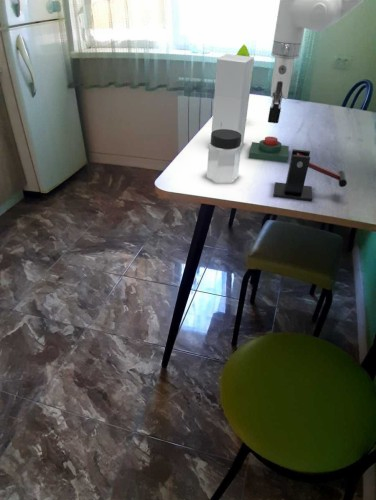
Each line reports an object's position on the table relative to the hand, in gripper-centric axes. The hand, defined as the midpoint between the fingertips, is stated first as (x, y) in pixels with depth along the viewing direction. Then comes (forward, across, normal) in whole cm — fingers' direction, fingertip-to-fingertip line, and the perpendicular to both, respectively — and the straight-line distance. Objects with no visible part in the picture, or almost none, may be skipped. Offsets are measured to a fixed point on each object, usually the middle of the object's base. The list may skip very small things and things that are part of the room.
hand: (273, 121), depth 125 cm
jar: (+10, -22, +12) cm, 27 cm away
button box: (+10, 0, 0) cm, 10 cm away
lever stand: (+10, -27, -8) cm, 30 cm away
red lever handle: (+4, -27, -14) cm, 31 cm away
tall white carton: (+10, +4, +14) cm, 18 cm away
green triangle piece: (+11, +29, +14) cm, 34 cm away
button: (+7, 0, 0) cm, 7 cm away
